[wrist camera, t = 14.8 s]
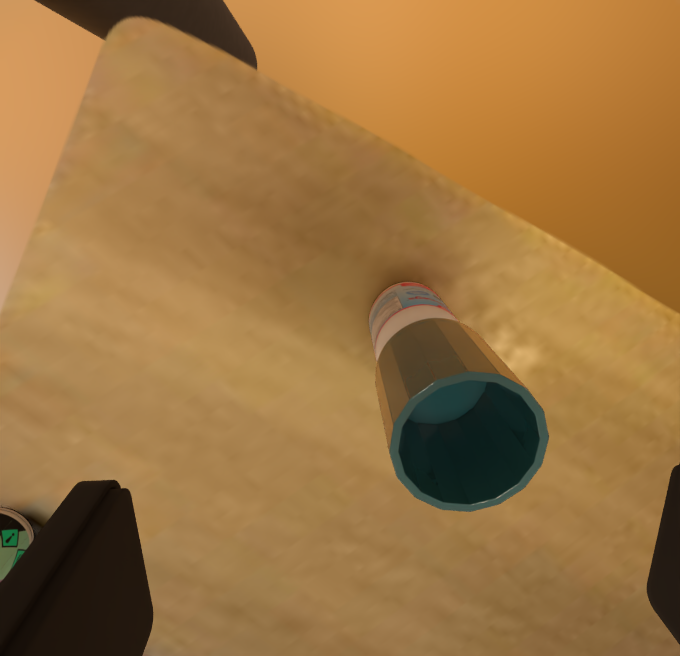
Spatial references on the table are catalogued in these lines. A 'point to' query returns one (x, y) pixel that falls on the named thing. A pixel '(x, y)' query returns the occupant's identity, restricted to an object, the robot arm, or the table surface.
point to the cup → (457, 417)
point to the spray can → (12, 539)
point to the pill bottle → (403, 311)
